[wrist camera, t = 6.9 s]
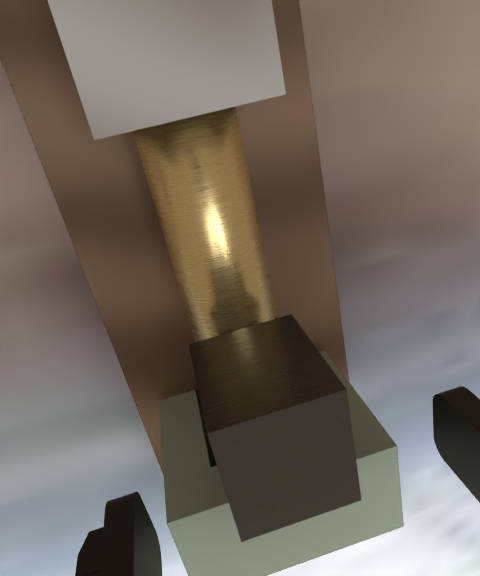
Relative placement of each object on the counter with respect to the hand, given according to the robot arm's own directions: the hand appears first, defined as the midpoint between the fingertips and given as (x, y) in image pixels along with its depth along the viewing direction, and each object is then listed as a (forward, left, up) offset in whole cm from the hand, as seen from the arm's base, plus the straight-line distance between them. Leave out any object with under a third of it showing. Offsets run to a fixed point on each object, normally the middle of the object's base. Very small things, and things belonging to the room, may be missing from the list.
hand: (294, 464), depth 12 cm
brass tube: (-3, -3, -8) cm, 9 cm away
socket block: (+4, +3, -9) cm, 10 cm away
